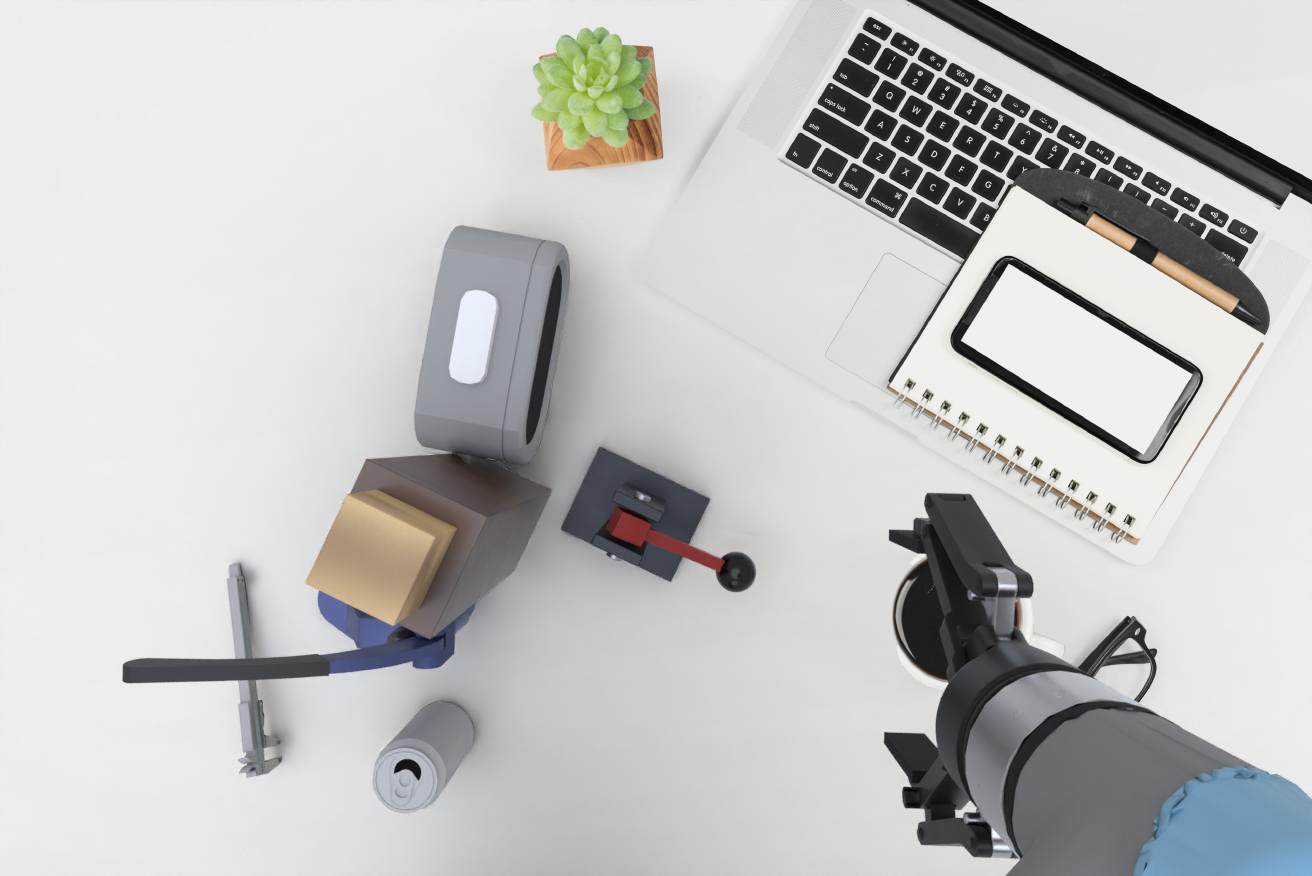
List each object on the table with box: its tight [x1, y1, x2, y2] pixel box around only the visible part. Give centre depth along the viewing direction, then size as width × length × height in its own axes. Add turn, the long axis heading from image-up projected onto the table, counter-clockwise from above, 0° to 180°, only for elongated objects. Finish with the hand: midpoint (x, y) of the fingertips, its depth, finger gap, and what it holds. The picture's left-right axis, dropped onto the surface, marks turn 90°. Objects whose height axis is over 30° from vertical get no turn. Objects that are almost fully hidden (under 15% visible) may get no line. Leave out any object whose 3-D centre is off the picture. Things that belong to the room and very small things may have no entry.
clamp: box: [121, 590, 476, 684], centre depth 69 cm, size 19×9×28 cm, turn 88°
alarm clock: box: [413, 224, 571, 466], centre depth 76 cm, size 21×10×13 cm, turn 170°
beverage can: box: [372, 701, 475, 814], centre depth 77 cm, size 6×6×12 cm
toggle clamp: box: [560, 446, 711, 583], centre depth 75 cm, size 12×9×14 cm
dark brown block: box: [349, 452, 553, 639], centre depth 69 cm, size 9×9×28 cm
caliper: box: [226, 562, 283, 779], centre depth 80 cm, size 20×1×6 cm, turn 13°
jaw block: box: [305, 489, 457, 626], centre depth 52 cm, size 6×6×5 cm
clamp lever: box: [606, 506, 757, 593], centre depth 72 cm, size 14×4×4 cm, turn 65°
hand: (906, 636), depth 56 cm, fingers open, 13 cm apart
